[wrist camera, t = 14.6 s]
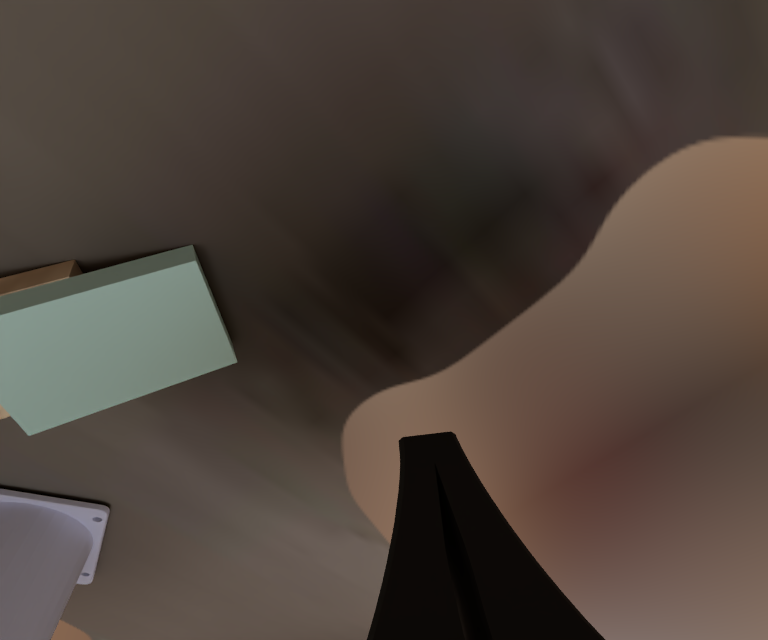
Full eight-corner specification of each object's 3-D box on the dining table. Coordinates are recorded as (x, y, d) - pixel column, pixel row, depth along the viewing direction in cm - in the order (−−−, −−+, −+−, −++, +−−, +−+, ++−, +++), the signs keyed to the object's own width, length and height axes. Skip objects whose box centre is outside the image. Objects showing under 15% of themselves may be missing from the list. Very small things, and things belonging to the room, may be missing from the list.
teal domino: (195, 260, 16) (-64, 333, 14) (237, 362, 19) (28, 436, 17) (192, 244, 17) (-47, 308, 15) (231, 342, 20) (36, 408, 18)
